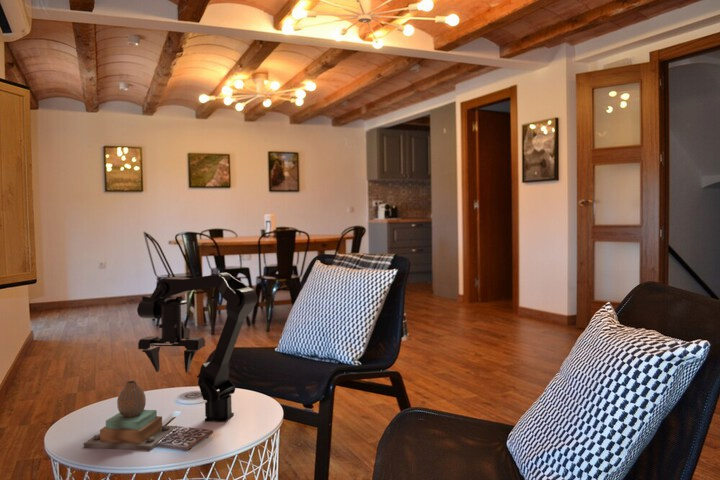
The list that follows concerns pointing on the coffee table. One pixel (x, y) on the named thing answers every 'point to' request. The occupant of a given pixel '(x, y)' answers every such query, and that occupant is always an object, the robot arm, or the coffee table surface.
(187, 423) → the coffee table surface
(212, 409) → the robot arm
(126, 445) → the stacked plates with bolts
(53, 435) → the coffee table surface
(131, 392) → the vase
